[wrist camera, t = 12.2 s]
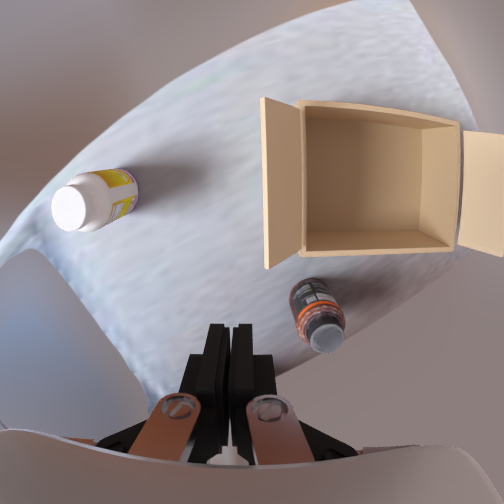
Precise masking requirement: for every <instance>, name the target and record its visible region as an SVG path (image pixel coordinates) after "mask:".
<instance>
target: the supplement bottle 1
mask: <svg viewBox="0 0 504 504" xmlns="http://www.w3.org/2000/svg"><path fill="white" fill-rule="evenodd" d="M137 199H138V186H137V183H136V181H135V179H134V177H133V176H132V175H131V174H130V173H129V172H127V171H125V170H122V169H109V170H101V171H94V172H87V173H82V174H79V175H76V176H75V177H73V178H72V179H71V180H70V181H69V182H68V183H67V185H66V186H64V187H62V188H60V189H59V190H58V191H57V192H56V193H55V195H54V197H53V200H52V215H53V218H54V220H55V222H56V223H57V225H58V226H59V227H60V228H62V229H63V230H65V231H70V232H72V231H76V230H78V231H81V232H93V231H95V230H98V229H100V228H102V227H103V226H105V225H107V224H109V223H111V222H113V221H115V220H117V219H119V218H121V217H123V216H125V215H126V214H128V213H129V212H130V211H131V210H132V209H133V208H134V206H135V205H136V202H137Z"/></svg>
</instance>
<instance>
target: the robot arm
mask: <svg viewBox="0 0 504 504" xmlns="http://www.w3.org/2000/svg"><path fill="white" fill-rule="evenodd" d="M0 504H504V503H503V501H502V499H501V497H500V496H499V494H498V492H497V490H496V489H495V487H494V486H493V484H492V483H491V481H490V479H489V478H488V476H487V475H486V473H485V472H484V471H483V469H482V468H481V467H480V465H479V464H478V463H477V462H476V461H475V460H474V459H473V458H472V457H471V456H470V455H469V454H468V453H467V452H465V451H463V450H462V449H459V448H456V447H451V446H444V445H423V446H420V445H406V446H391V447H363V448H362V450H354V448H352V447H351V446H349V445H347V444H345V443H343V442H341V441H339V440H337V439H335V438H332V437H330V436H329V435H326V434H324V433H323V432H321V431H319V430H317V429H314V428H313V427H311V426H309V425H307V424H305V423H303V422H301V421H300V420H298V418H297V416H296V414H295V411H294V409H293V407H292V405H291V403H290V402H289V401H288V400H287V399H285V398H283V397H281V396H277V390H276V383H275V374H274V366H273V357H272V355H253V339H252V324H239V327H233V337H232V347H231V349H230V329H229V327H224V324H210V327H209V331H208V335H207V339H206V344H205V348H204V352H203V354H190V356H189V359H188V362H187V366H186V369H185V372H184V376H183V379H182V382H181V386H180V389H179V392H178V393H173V394H169V395H166V396H165V397H163V398H161V399H160V400H159V402H158V403H157V404H156V406H155V408H154V410H153V411H152V413H151V415H150V416H149V418H148V419H147V420H145V421H143V422H141V423H138V424H136V425H134V426H132V427H129V428H127V429H125V430H123V431H120V432H118V433H115V434H113V435H110V436H108V437H106V438H104V439H102V440H100V441H99V442H98V443H97V442H95V441H94V439H80V438H69V437H58V436H54V435H51V434H47V433H42V432H38V431H32V430H26V429H5V430H0Z"/></svg>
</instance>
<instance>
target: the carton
mask: <svg viewBox="0 0 504 504" xmlns="http://www.w3.org/2000/svg"><path fill="white" fill-rule="evenodd" d="M293 107H296V108H298V109H300V113H301V144H302V249H301V250H299V251H298V254H299V256H300V257H322V256H350V255H378V254H404V253H429V252H453V249H454V243H455V235H456V227H457V217H458V206H459V192H460V164H461V148H460V122H457V121H453V120H449V119H445V118H441V117H436V116H431V115H427V114H422V113H416V112H411V111H405V110H399V109H393V108H386V107H379V106H371V105H363V104H354V103H343V102H330V101H314V100H298V101H297V102H296V104H295V105H294V106H293Z"/></svg>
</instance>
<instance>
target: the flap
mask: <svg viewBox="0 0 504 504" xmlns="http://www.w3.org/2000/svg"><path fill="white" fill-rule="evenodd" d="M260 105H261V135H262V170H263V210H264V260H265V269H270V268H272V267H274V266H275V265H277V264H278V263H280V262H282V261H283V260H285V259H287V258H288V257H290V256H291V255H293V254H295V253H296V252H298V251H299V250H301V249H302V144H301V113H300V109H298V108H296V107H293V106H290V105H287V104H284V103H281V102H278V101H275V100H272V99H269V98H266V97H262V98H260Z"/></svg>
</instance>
